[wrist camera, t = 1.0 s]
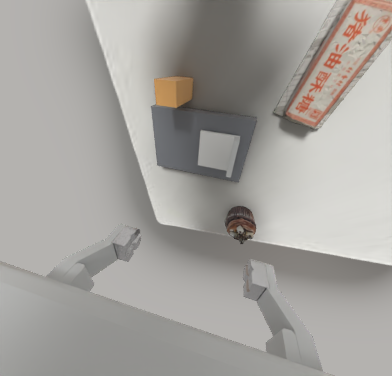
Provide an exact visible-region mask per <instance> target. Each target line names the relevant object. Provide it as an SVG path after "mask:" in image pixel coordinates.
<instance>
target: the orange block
mask: <svg viewBox="0 0 392 376" xmlns="http://www.w3.org/2000/svg"><path fill="white" fill-rule="evenodd" d="M154 84H155V95H156V105H160V106H167V107H174V108H177V107H179V106H181V105H182V104H184V103H186V102H188V101H190V100H191V99H192V92H193V78H189V77H179V76H173V77H165V78H158V79H154Z"/></svg>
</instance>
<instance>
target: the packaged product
mask: <svg viewBox="0 0 392 376" xmlns="http://www.w3.org/2000/svg"><path fill="white" fill-rule="evenodd" d="M391 40H392V0H337V1H336V2H335V4H334V6H333V8H332V9H331V11H330V13H329V14H328V16H327V18H326V20H325V21H324V23H323V25H322V27H321V29H320V31H319V33H318V35H317V36H316V38H315V40H314V42H313V43H312V45H311V47H310V49H309V50H308V52H307V54H306V56H305V57H304V59H303V61H302V62H301V64H300V65H299V67H298V69H297V70H296V73H295V74H294V76H293V78H292V80H291V82H290V84H289V85H288V87H287V89H286V90H285V92H284V94H283V95H282V97H281V99H280V101H279V103H278V105H277V107H276V109H275V110H274V112H273V113H275V114H278V115H280V116H283V117H284V118H285V119H287V120H290V121H291V122H293V123H296V124H302V125H304V126H307V127H310V128H311V129H316V128H321V126H322V125H323V123H324V122H325V121H326V120H327V118H328V117H329V116H330V115H331V114H332V112H333V111H334V110H335V109H336V108H337V106H338V105H339V104H340V102H341V101H342V100H343V99H344V98H345V96H346V95H347V94H348V93H349V91H350V90H351V89H352V88H353V87H354V86H355V84H356V83H357V82H358V80H359V79H360V78H361V77H362V76H363V75H364V73H365V72H366V71H367V70H368V68H369V67H370V66H371V65H372V63H373V62H374V61H375V60H376V58H377V57H378V56H379V55H380V53H381V52H382V51H383V50H384V49H385V48H386V46H387V45H388V44H389V43H390V41H391Z"/></svg>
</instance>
